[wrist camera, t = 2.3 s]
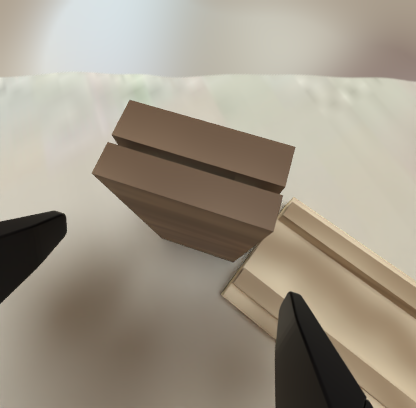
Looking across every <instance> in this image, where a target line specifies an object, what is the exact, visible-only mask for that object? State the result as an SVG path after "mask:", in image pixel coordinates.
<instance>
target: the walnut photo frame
mask: <svg viewBox="0 0 416 408" xmlns="http://www.w3.org/2000/svg"><path fill="white" fill-rule="evenodd" d="M112 136H113V138H114V139H115V141H116V142H117V144H118V145H116V144H112V143H109V142H108V143H107V145H106V147H105V148H104V150H103V152H102V154H101V156H100V158H99V160H98V162H97V164H96V166H95V168H94V170H93V172H92V174H93V175H94V176H95V177H96V178H97V179H98V180H100V181H101V182H102V183H103V184H104V185H105V186H106V187H107V188H108V189H109V190H110V191H111V192H112V193H114V194H115V195H116V196H117V197H118V198H119V199H120V200H121V201H122V202H123V203H124V204H125V205H127V206H128V207H129V208H130V209H131V210H132V211H133V212H134V213H135V214H136V215H137V216H138V217H139V218H141V219H142V220H143V221H144V222H145V223H146V224H147V225H148V226H149V227H150V228H151V229H152V230H154V231H155V232H156V233H157V234H158V235H159V236H160V237H161V238H163V239H166V240H169V241H172V242H175V243H178V244H181V245H184V246H186V247H189V248H192V249H195V250H198V251H201V252H204V253H207V254H210V255H213V256H216V257H219V258H222V259H225V260H228V261H231V262H234V261H235V260H237V259H238V258H239V257H241V256H242V255H243V254H245V253H246V252H247V251H249V250H250V249H251V248H253V247H254V246H255V245H257V244H258V243H259V242H261V241H262V240H263V239H265V238H266V237H267V236H268V235H270V234H271V233H272V232H274V228H275V224H276V221H277V217H278V213H279V209H280V205H281V201H282V197H283V195H280V193H281V191H282V190H283V189H284V188H285V185H286V182H287V178H288V174H289V170H290V166H291V162H292V158H293V154H294V150H295V147H294V146H290V145H286V144H283V143H279V142H276V141H272V140H269V139H265V138H262V137H258V136H255V135H251V134H248V133H244V132H241V131H237V130H234V129H230V128H227V127H223V126H220V125H216V124H213V123H209V122H206V121H202V120H199V119H195V118H191V117H188V116H184V115H181V114H177V113H174V112H170V111H167V110H163V109H160V108H156V107H153V106H149V105H146V104H142V103H139V102H135V101H132V100H129V102H128V104H127V106H126V108H125V110H124V112H123V114H122V116H121V118H120V120H119V121H118V123H117V125H116V127H115V129H114V131H113V133H112Z"/></svg>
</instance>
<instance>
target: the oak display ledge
mask: <svg viewBox="0 0 416 408" xmlns="http://www.w3.org/2000/svg"><path fill="white" fill-rule="evenodd" d="M289 291H292V292H295V293H298V294H300V295H301V296H302V297H303V299H304V300H305V302H306V303H307V305H308V306H309V308H310V309H311V311H312V313H313V314H314V316H315V317H316V319H317V320H318V322H319V323H320V325H321V327H322V328H323V330H324V331H325V333H326V334H327V336H328V337H329V339H330V341H331V342H332V344H333V345H334V347H335V348H336V350H337V351H338V353H339V355H340V356H341V358H342V359H343V361H344V362H345V364H346V366H347V367H348V369H349V370H350V372H351V373H352V375H353V376H354V378H355V380H356V381H357V383H358V384H359V386H360V387H361V389H362V390H363V392H364V394H365V395H366V397H367V399H368V400H369V401H370V403H371V404H372V406H373V407H374V408H416V281H415V280H413V279H412V278H411V277H409V276H408V275H406V274H405V273H403V272H402V271H400V270H399V269H397V268H396V267H395V266H393V265H392V264H390V263H389V262H387V261H386V260H384V259H383V258H381V257H380V256H379V255H377V254H376V253H374V252H373V251H371V250H370V249H368V248H367V247H366V246H364V245H363V244H361V243H360V242H358V241H357V240H355V239H354V238H352V237H351V236H350V235H348V234H347V233H345V232H344V231H342V230H341V229H339V228H338V227H336V226H335V225H334V224H332V223H331V222H329V221H328V220H326V219H325V218H323V217H322V216H321V215H319V214H318V213H316V212H315V211H313V210H312V209H310V208H309V207H307V206H306V205H305V204H303V203H302V202H300V201H299V200H297V199H296V198H294V197H293V198H292V199H291V200H290V201H289V202H288V203H287V204H286V205H285V207H284V208H283V210H282V211H281V212H280V214H279V215H278V217H277V221H276V224H275V228H274V232H272V233H271V234H270V235H268V236H267V237H266V238H265V239H263V240H262V241H261V242H259V243H258V244H257V245H256V247H255V248H254V249H253V251H252V252H251V254H250V255H249V256H248V258H247V259H246V260H245V262H244V263H243V265H242V266H241V267H240V269H239V270H238V271H237V273H236V274H235V276H234V277H233V278H232V280H231V281H230V282H229V284H228V285H227V287H226V288H225V289H224V291H223V292H222V294H221V295H222V296H223V297H224V298H226V299H227V300H228V301H229V302H230V303H232V304H233V305H234V306H235V307H236V308H238V309H239V310H240V311H241V312H242V313H244V314H245V315H246V316H247V317H248V318H250V319H251V320H252V321H253V322H254V323H256V324H257V325H258V326H259V327H261V328H262V329H263V330H264V331H265V332H267V333H268V334H269V335H270V336H271V337H273V338H274V339H275V340H276V336H277V326H278V316H279V309H280V306H281V304H282V302H283V300H284V298H285V297H286V295H287V293H288V292H289Z"/></svg>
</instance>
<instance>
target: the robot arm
mask: <svg viewBox="0 0 416 408" xmlns="http://www.w3.org/2000/svg"><path fill="white" fill-rule="evenodd" d="M66 233H67V223H66V216H65V214H64V213H61V212H58V211H50V212H45V213H40V214H35V215H30V216H25V217H21V218H16V219H11V220H6V221H1V222H0V304H1V303H2V302H3V301H4V300H5V299H6V298H7V297H8V296H9V295H10V294H11V293H12V292H13V291H14V290H15V289H16V288H17V287H18V286H19V285H20V284H21V283H22V282H23V281H24V280H25V279H26V278H27V277H29V276H30V275H31V274H32V273H33V272H34V271H35V270H36V269H37V268H38V267H39V266H40V264H41V263H42V262H43V261H44V260H45V259H46V258H47V256H48V255H49V254H50V253H51V252H52V251H53V249H54V248H55V247H56V246H57V245H58V244H59V242H60V241H61V240H62V239H63V238H64V237H65V235H66ZM275 406H276V408H374V407H373V406H372V404H371V403H370V401H369V400H368V399H367V397H366V395H365V394H364V392H363V390H362V389H361V387H360V386H359V384H358V383H357V381H356V380H355V378H354V376H353V375H352V373H351V372H350V370H349V369H348V367H347V366H346V364H345V362H344V361H343V359H342V358H341V356H340V355H339V353H338V351H337V350H336V348H335V347H334V345H333V344H332V342H331V341H330V339H329V337H328V336H327V334H326V333H325V331H324V330H323V328H322V327H321V325H320V323H319V322H318V320H317V319H316V317H315V316H314V314H313V313H312V311H311V309H310V308H309V306H308V305H307V303H306V302H305V300H304V299H303V297H302V296H301V295H300V294H298V293H295V292H292V291H289V292H288V293H287V295H286V297H285V298H284V300H283V302H282V304H281V306H280V309H279V316H278V326H277V336H276V346H275Z"/></svg>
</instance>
